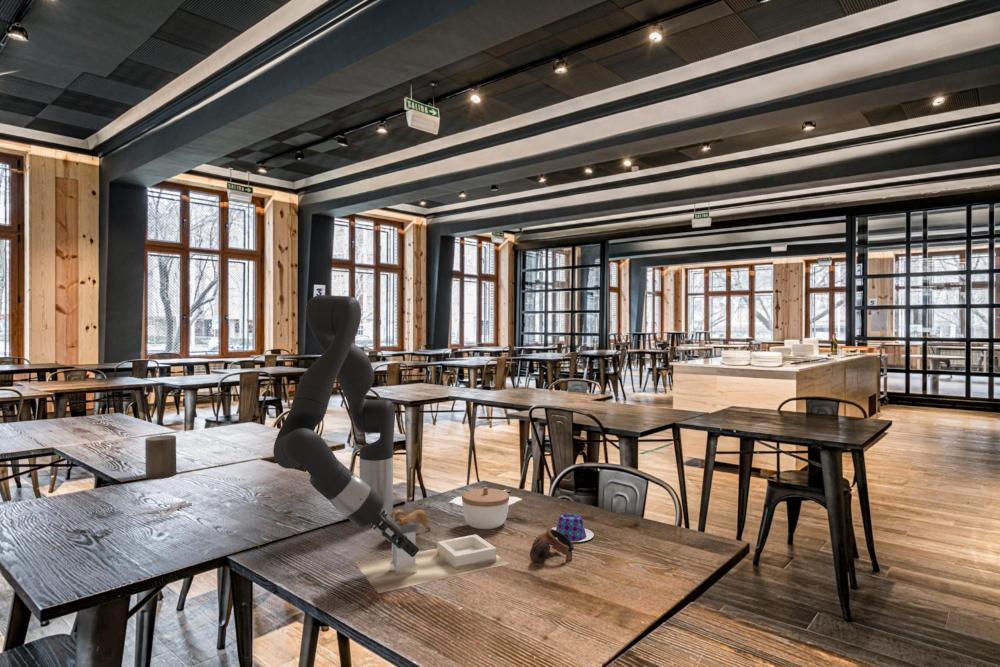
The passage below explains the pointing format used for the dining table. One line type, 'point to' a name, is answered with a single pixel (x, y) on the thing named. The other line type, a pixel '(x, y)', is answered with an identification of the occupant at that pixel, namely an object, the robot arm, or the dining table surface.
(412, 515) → the lion figurine
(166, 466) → the pillar candle
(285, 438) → the robot arm
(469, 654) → the dining table surface
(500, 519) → the lidded bowl
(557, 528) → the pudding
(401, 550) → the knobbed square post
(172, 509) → the pliers
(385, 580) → the board
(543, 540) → the pottery mug
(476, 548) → the box
